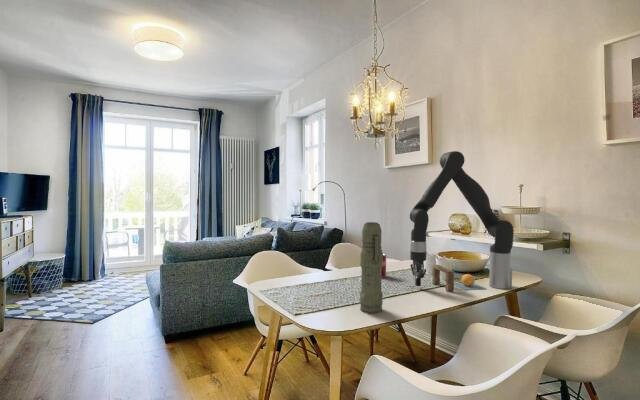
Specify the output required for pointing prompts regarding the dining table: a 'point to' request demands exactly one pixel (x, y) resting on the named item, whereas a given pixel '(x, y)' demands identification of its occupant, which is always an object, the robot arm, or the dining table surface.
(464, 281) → the ball
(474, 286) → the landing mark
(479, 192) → the robot arm
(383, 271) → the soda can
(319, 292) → the dining table surface
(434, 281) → the bridge
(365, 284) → the thermos
